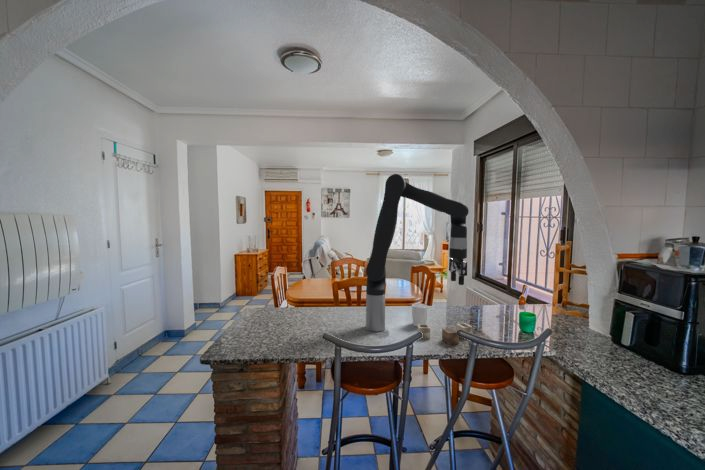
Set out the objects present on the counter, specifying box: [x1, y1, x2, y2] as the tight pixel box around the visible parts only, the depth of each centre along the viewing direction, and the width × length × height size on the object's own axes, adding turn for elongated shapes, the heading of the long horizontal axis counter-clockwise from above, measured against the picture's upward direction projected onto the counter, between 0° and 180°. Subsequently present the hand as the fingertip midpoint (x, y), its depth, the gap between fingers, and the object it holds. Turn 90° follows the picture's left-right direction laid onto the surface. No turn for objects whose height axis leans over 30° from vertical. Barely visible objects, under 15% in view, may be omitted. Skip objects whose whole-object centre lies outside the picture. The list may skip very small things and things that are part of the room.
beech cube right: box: [455, 322, 474, 334], centre depth 128 cm, size 5×5×5 cm
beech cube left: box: [417, 323, 431, 340], centre depth 127 cm, size 5×5×5 cm
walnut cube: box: [441, 327, 460, 345], centre depth 121 cm, size 5×5×5 cm
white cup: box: [411, 302, 429, 328], centre depth 142 cm, size 8×8×10 cm
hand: (457, 282), depth 127 cm, fingers open, 8 cm apart
